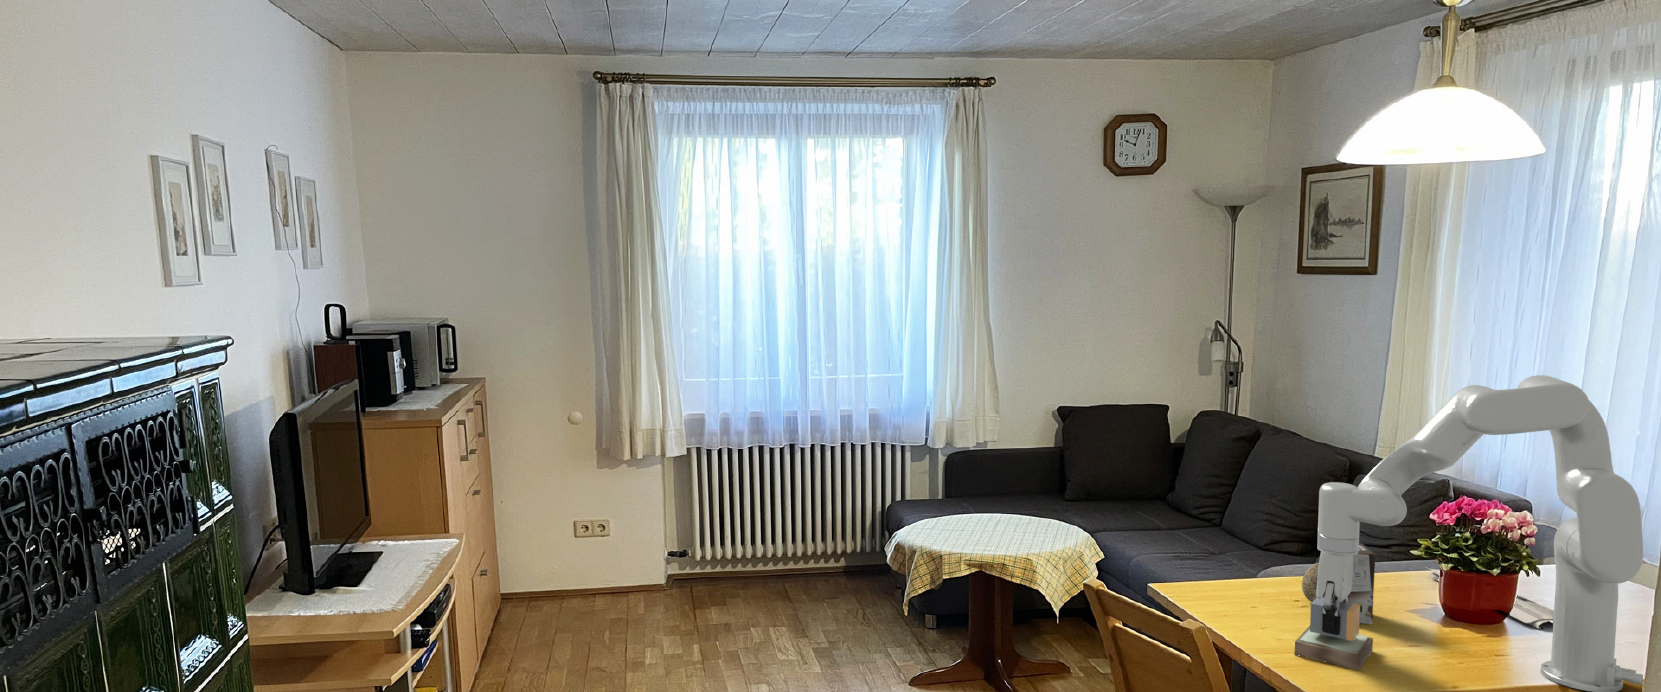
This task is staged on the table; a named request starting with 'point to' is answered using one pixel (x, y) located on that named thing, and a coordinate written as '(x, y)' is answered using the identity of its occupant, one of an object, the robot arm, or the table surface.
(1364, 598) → the coffee box
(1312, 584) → the decorative egg
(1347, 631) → the block
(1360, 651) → the stand
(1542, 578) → the table surface
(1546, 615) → the newspaper
